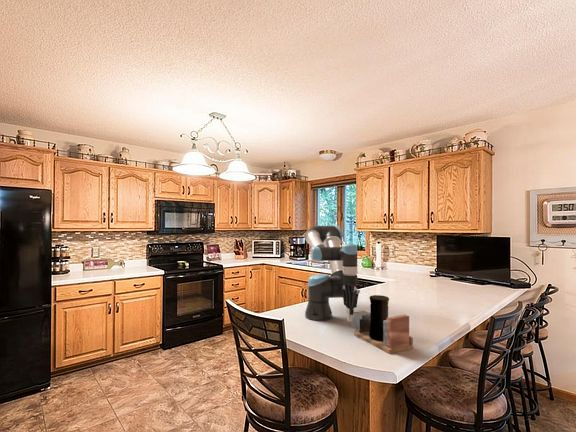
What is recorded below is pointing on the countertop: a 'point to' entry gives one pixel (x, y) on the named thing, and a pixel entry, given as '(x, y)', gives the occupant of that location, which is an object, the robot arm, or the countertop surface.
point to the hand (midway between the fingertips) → (350, 320)
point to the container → (378, 316)
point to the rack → (391, 335)
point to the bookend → (362, 321)
